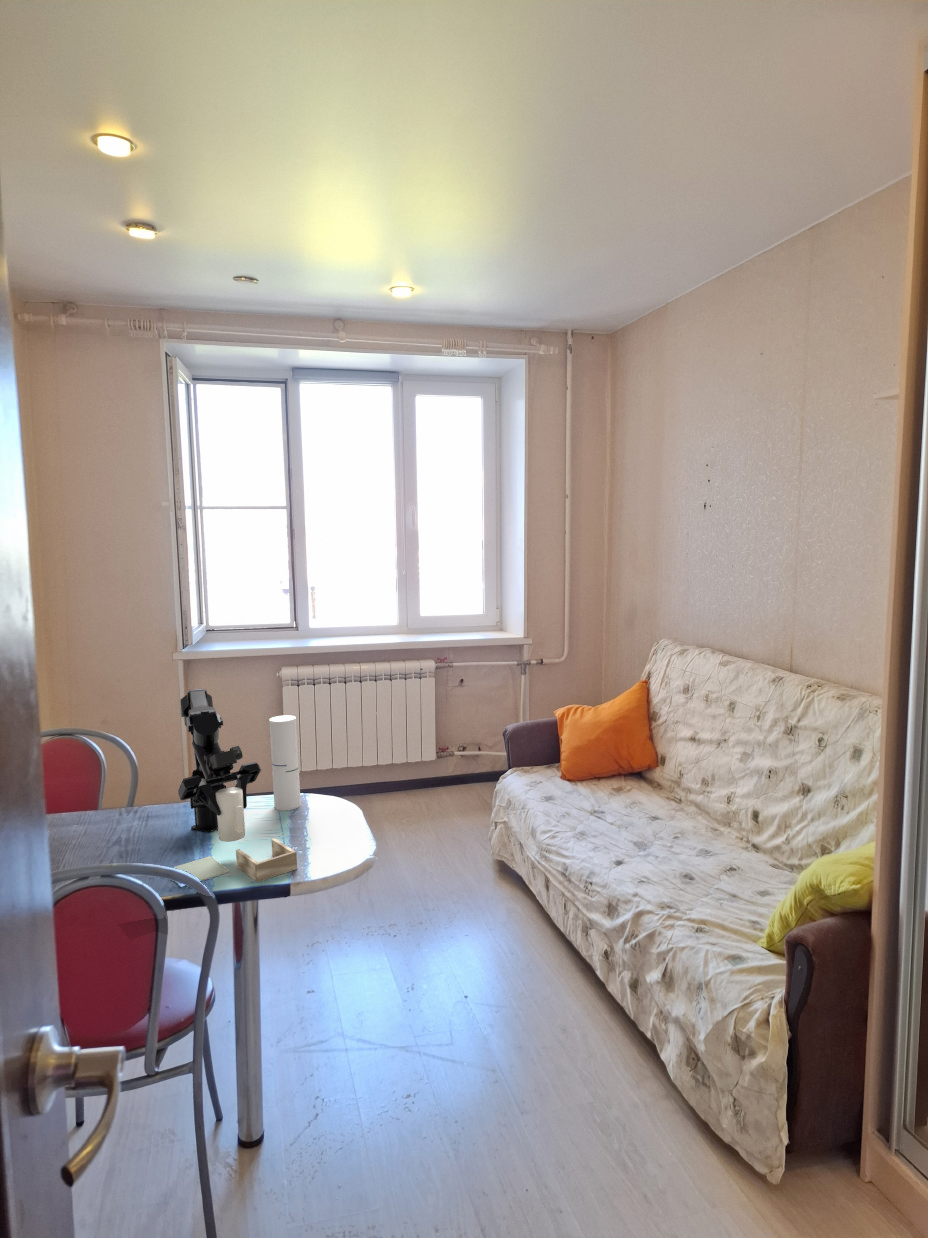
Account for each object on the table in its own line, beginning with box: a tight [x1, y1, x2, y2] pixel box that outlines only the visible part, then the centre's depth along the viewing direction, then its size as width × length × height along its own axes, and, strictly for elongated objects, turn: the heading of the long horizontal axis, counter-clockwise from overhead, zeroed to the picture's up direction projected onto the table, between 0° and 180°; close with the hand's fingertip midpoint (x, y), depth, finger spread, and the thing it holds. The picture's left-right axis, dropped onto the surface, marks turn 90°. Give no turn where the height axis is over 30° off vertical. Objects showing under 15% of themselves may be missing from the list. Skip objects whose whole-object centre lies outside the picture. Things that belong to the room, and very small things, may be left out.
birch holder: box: [235, 838, 298, 883], centre depth 174 cm, size 11×10×4 cm
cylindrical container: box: [268, 714, 302, 811], centre depth 212 cm, size 7×7×25 cm
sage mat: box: [173, 855, 231, 882], centre depth 173 cm, size 11×11×1 cm
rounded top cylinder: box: [216, 786, 246, 843], centre depth 178 cm, size 8×6×11 cm
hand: (232, 811), depth 178 cm, fingers closed on rounded top cylinder, 6 cm apart
